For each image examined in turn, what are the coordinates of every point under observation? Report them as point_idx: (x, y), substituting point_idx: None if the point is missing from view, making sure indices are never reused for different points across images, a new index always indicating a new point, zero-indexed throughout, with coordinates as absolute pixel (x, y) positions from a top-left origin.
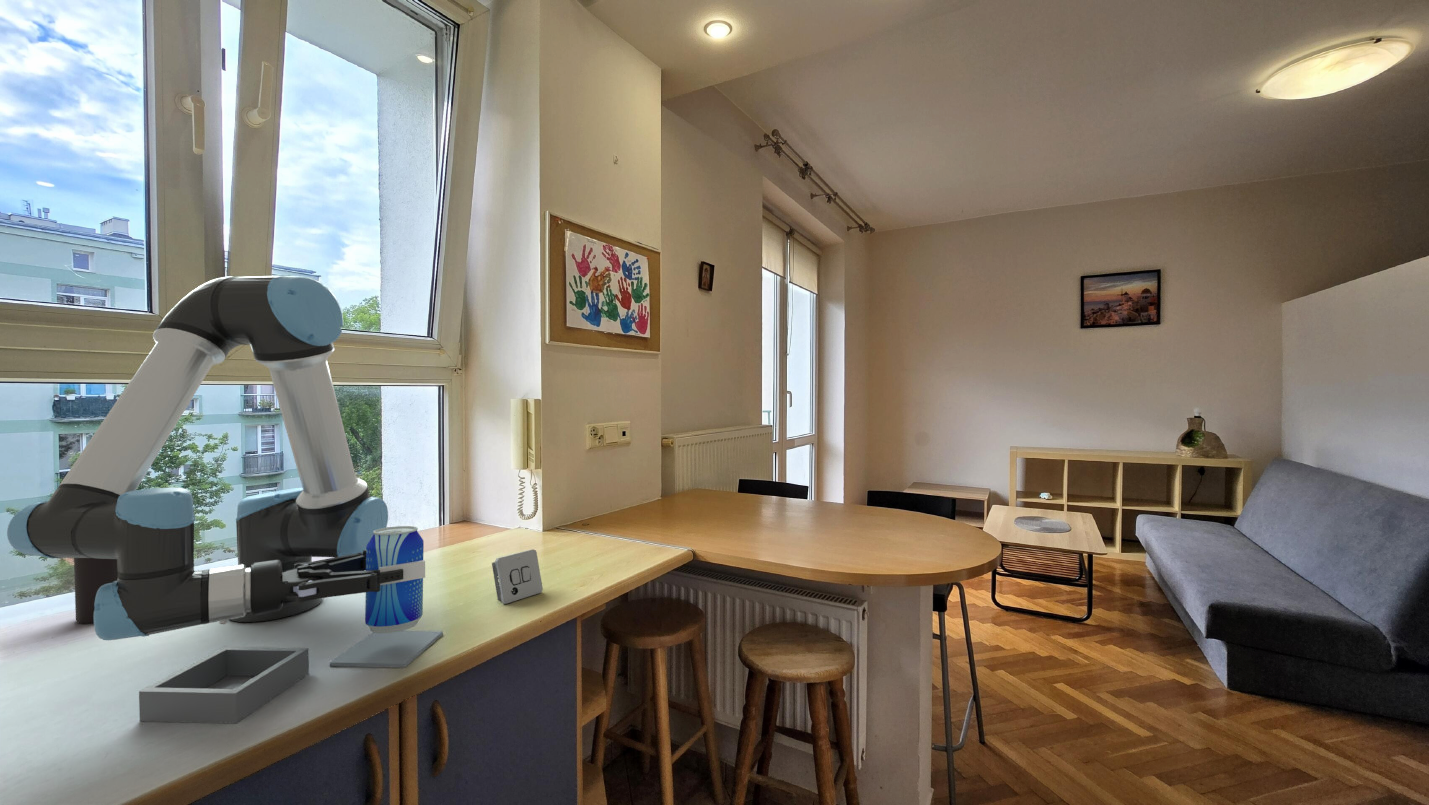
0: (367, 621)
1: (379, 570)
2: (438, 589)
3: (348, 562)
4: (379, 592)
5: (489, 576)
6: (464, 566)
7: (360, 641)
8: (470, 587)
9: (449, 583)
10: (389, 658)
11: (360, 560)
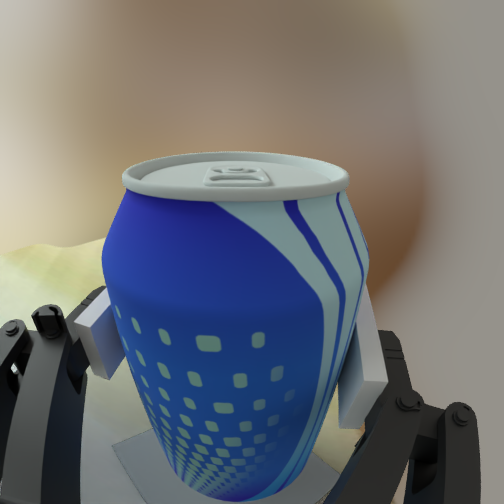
0: (243, 499)
1: (406, 388)
2: (54, 300)
3: (53, 417)
4: (302, 442)
5: (90, 257)
6: (36, 253)
7: (141, 493)
8: (95, 281)
9: (54, 284)
10: (294, 492)
11: (65, 369)
